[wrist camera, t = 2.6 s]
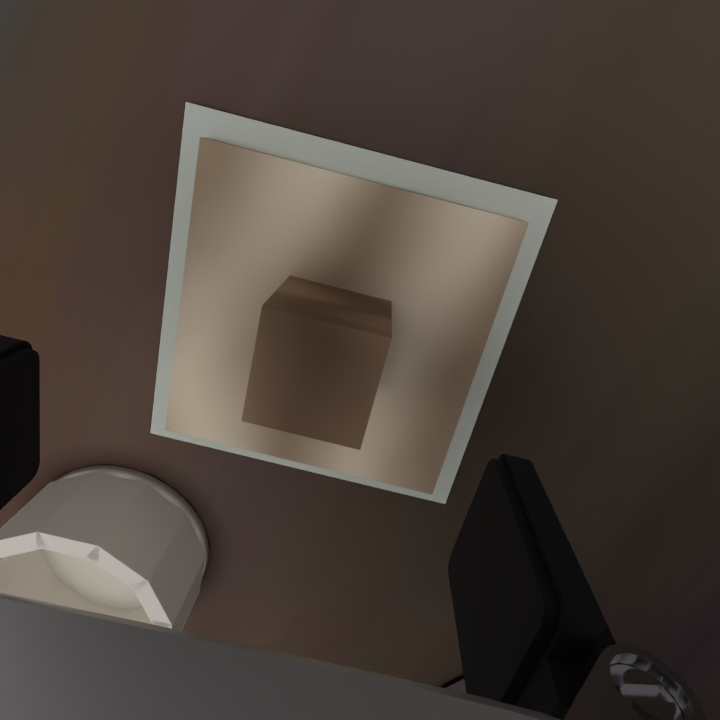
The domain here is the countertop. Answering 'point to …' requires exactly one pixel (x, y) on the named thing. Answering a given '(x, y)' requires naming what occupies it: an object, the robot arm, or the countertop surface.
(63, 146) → the countertop surface
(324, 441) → the lid
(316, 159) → the mat
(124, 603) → the bowl
